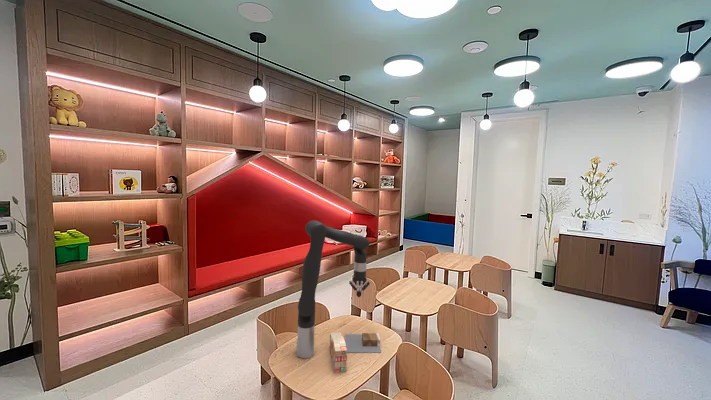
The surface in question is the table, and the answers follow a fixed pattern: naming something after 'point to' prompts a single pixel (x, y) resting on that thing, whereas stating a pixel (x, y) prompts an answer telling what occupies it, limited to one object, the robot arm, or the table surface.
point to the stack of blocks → (338, 352)
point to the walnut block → (370, 339)
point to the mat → (359, 345)
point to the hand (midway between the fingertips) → (358, 296)
